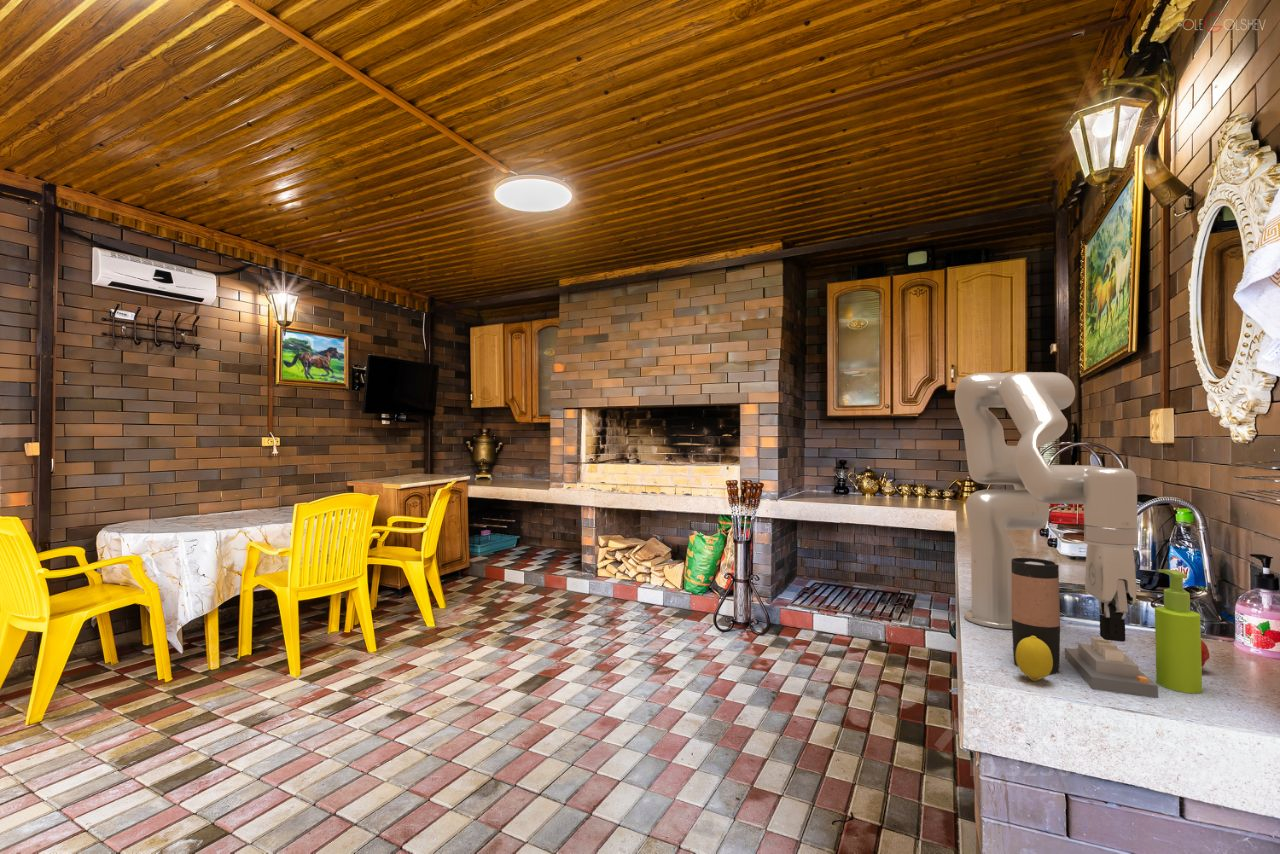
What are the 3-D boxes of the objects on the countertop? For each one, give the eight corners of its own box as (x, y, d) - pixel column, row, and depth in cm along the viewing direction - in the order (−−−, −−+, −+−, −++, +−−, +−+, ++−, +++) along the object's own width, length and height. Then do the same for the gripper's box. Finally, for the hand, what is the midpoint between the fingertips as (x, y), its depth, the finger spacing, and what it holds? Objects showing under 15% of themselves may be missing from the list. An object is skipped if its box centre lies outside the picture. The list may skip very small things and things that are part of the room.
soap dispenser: (1186, 679, 104) (1183, 568, 105) (1210, 695, 97) (1207, 576, 98) (1146, 675, 106) (1143, 566, 106) (1167, 690, 99) (1165, 574, 100)
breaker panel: (1064, 657, 114) (1064, 628, 115) (1120, 664, 111) (1120, 634, 111) (1092, 688, 100) (1091, 655, 100) (1158, 697, 96) (1157, 662, 96)
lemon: (1059, 688, 100) (1058, 642, 100) (1024, 685, 101) (1023, 639, 101) (1043, 676, 105) (1043, 632, 105) (1010, 673, 106) (1009, 629, 106)
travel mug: (1003, 662, 112) (1001, 559, 112) (1028, 657, 115) (1027, 556, 115) (1044, 677, 104) (1042, 566, 105) (1070, 671, 108) (1068, 563, 108)
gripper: (1072, 529, 112) (1074, 625, 111) (1099, 541, 98) (1101, 650, 97) (1120, 532, 109) (1122, 630, 108) (1155, 544, 95) (1157, 656, 94)
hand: (1112, 639), depth 103 cm, fingers closed
